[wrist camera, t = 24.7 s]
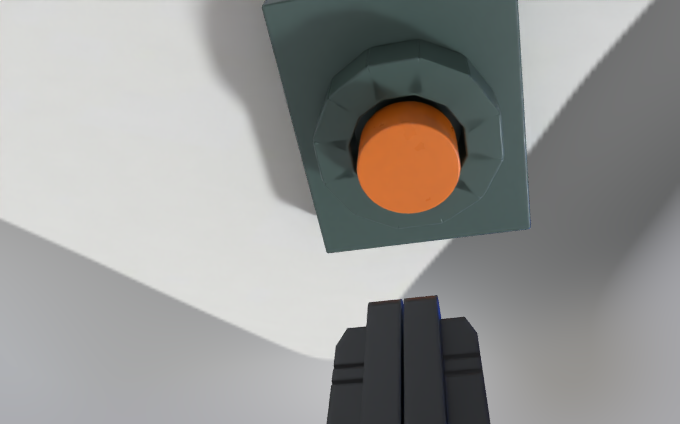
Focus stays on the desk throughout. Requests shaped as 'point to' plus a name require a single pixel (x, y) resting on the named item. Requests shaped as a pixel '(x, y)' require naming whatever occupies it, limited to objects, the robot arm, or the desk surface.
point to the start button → (408, 157)
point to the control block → (405, 85)
